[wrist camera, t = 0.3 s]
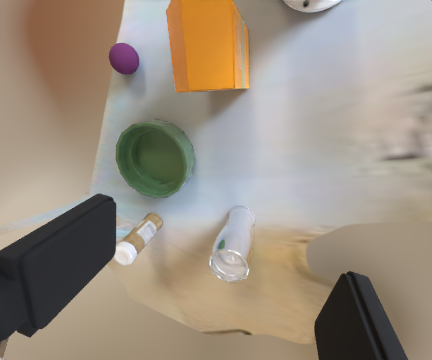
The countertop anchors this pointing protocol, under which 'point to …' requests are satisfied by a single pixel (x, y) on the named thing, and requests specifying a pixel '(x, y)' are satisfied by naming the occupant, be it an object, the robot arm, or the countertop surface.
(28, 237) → the robot arm
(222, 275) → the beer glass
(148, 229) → the sprinkles bottle
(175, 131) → the bowl
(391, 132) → the countertop surface
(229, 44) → the orange juice
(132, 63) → the ball
